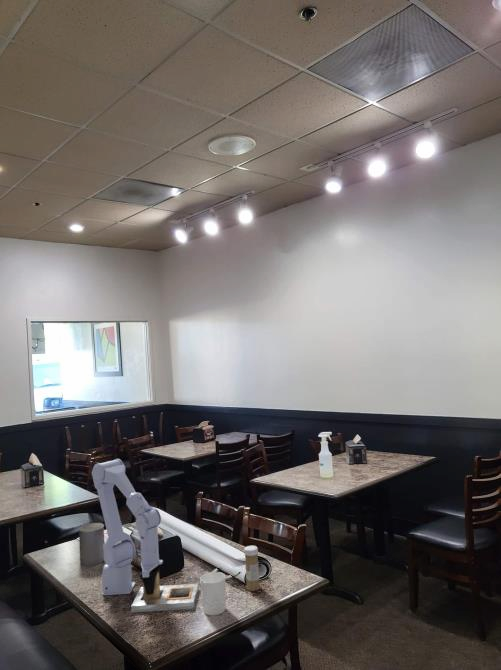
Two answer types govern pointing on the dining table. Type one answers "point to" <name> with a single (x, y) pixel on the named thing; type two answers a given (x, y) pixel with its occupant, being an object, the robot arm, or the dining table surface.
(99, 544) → the pillar candle
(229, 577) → the pliers
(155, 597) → the peg
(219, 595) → the white cup
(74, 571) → the dining table surface
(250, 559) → the sprinkles bottle
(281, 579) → the dining table surface
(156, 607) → the socket board
